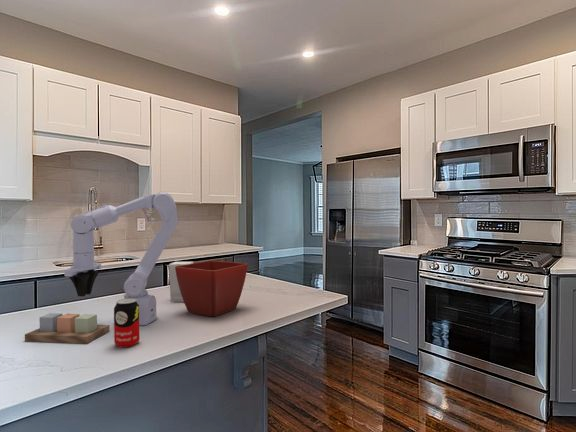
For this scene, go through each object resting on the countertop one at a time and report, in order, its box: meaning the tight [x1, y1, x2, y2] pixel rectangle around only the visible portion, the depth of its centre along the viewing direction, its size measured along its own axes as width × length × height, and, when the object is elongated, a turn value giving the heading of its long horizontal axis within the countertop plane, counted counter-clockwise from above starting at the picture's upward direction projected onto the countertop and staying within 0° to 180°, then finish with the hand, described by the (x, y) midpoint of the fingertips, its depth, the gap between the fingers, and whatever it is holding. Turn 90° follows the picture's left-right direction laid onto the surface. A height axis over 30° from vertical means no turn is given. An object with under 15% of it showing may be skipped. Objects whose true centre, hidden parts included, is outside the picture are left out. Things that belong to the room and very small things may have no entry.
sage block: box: [75, 313, 98, 333], centre depth 104 cm, size 4×4×4 cm
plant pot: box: [175, 260, 248, 317], centre depth 130 cm, size 19×19×17 cm
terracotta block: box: [57, 313, 81, 333], centre depth 104 cm, size 4×4×4 cm
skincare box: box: [168, 261, 194, 303], centre depth 145 cm, size 8×7×16 cm
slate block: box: [39, 312, 64, 332], centre depth 105 cm, size 4×4×4 cm
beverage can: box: [113, 298, 141, 348], centre depth 98 cm, size 6×6×12 cm
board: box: [24, 324, 111, 345], centre depth 104 cm, size 19×10×2 cm, turn 84°
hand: (84, 295), depth 113 cm, fingers open, 2 cm apart
